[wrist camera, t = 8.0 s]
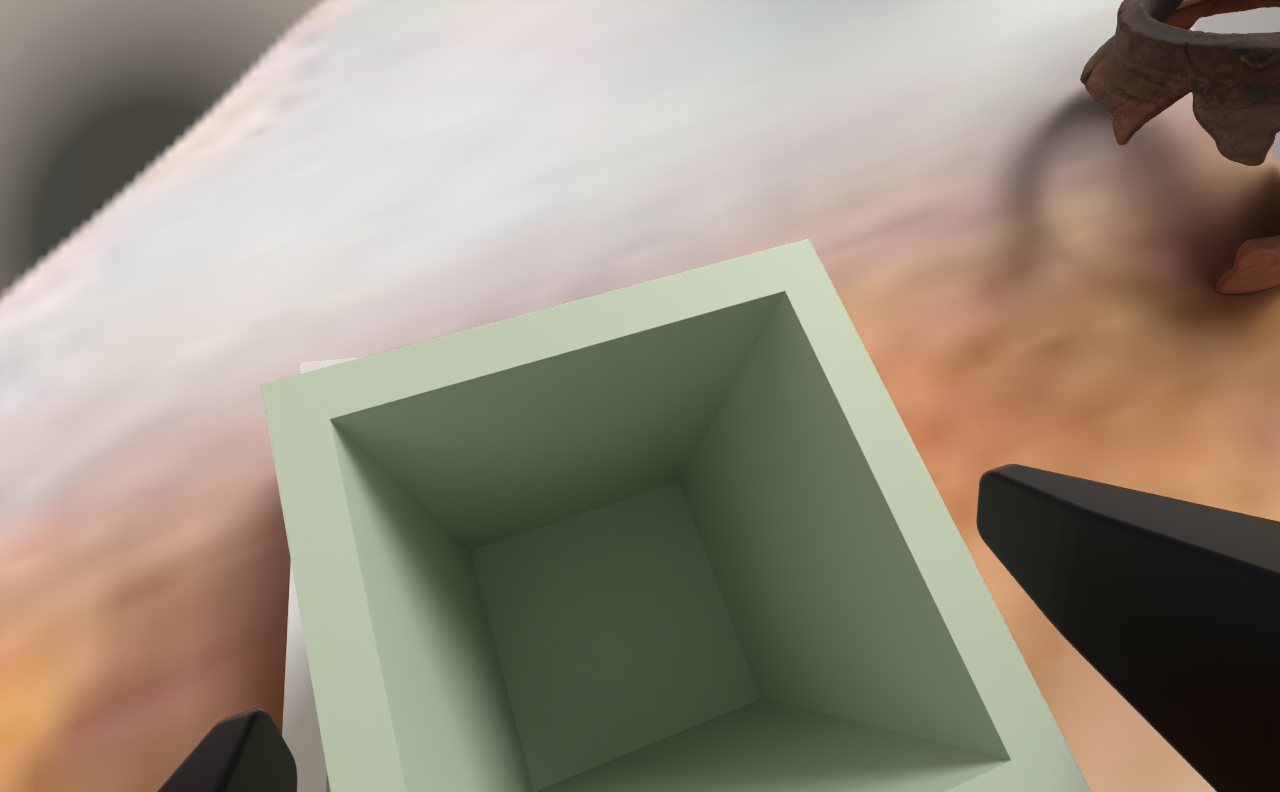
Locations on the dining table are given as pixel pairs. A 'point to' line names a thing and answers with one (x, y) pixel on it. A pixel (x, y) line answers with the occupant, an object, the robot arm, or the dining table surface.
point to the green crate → (644, 558)
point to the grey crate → (303, 685)
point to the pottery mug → (1197, 94)
